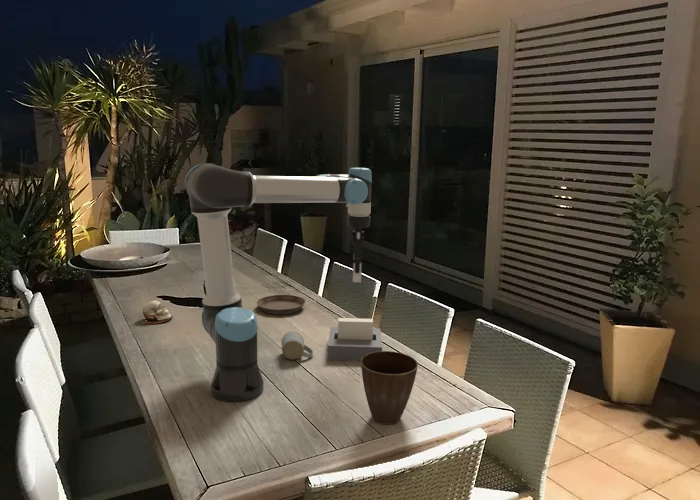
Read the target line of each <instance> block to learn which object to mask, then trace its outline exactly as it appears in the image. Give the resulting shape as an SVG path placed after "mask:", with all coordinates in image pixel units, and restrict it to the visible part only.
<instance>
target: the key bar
mask: <svg viewBox="0 0 700 500" xmlns="http://www.w3.org/2000/svg"><path fill="white" fill-rule="evenodd" d="M337 320H338V321H337V322H338V323H337V327H338V339H351V340H373V328H374V319H373V318H359V317H358V318H354V317H352V318H351V317H348V318H346V317H338V319H337Z"/></svg>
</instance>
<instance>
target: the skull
mask: <svg viewBox="0 0 700 500" xmlns="http://www.w3.org/2000/svg"><path fill="white" fill-rule="evenodd" d="M142 314H143V317H144V318H145V320H147V321H144V322H143V323H142V324H146V325H155V324H162V323H164V322H168V321H170V320H171V319H173V318H174V317H173V315H172V314H170V312H169V310H168V309H167V308H166V307H165V305H162V303H161V301H158V300H151V301H148V302H147V303H146V304H145V305H143V308H142Z"/></svg>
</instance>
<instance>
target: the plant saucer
mask: <svg viewBox="0 0 700 500" xmlns="http://www.w3.org/2000/svg"><path fill="white" fill-rule="evenodd" d="M305 304H306V300H305V299H304V298H303V297H301V296H297V295H292V294H291V295H290V294H276V295H275V294H273V295H268V296H264V297H262V298H259V299H258V300H257V301H256V305H257V306H258V307H259V309H260V310H262V311H263V312H264V313H268V314H271V315H288V313H289V314H292V313H293V312H294V313H296V312H298V311H300V310H301V309H302V308H303V307H304V305H305ZM294 313H293V314H294Z"/></svg>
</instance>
